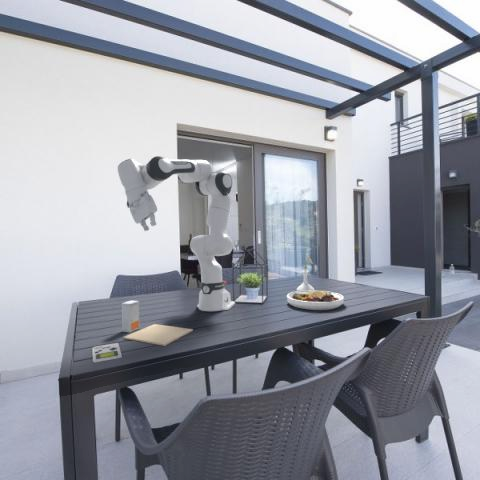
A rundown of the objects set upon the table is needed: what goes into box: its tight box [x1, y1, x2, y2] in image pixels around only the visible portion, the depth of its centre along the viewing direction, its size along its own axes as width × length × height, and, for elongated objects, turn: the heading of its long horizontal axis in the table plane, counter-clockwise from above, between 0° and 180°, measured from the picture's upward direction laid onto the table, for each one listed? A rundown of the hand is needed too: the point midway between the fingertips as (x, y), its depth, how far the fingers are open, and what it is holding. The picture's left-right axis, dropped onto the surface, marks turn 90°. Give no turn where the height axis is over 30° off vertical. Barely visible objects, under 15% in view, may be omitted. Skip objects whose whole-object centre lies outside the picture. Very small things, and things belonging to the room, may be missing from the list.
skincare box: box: [121, 300, 140, 333], centre depth 133 cm, size 6×4×12 cm
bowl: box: [286, 290, 345, 311], centre depth 171 cm, size 30×30×8 cm
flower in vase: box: [296, 253, 315, 291], centre depth 203 cm, size 13×11×25 cm
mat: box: [123, 323, 194, 347], centre depth 126 cm, size 18×20×1 cm
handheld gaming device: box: [92, 342, 123, 364], centre depth 109 cm, size 9×1×15 cm
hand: (150, 228), depth 132 cm, fingers open, 8 cm apart
